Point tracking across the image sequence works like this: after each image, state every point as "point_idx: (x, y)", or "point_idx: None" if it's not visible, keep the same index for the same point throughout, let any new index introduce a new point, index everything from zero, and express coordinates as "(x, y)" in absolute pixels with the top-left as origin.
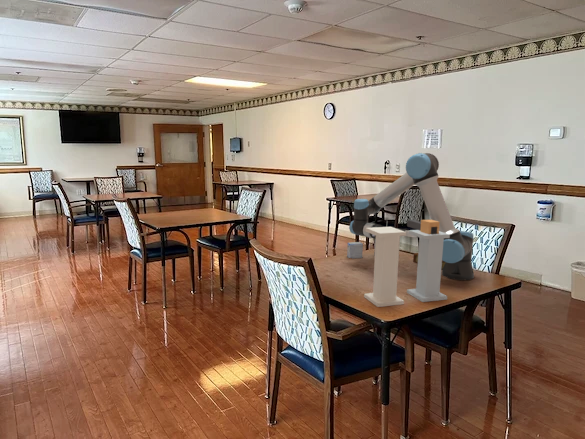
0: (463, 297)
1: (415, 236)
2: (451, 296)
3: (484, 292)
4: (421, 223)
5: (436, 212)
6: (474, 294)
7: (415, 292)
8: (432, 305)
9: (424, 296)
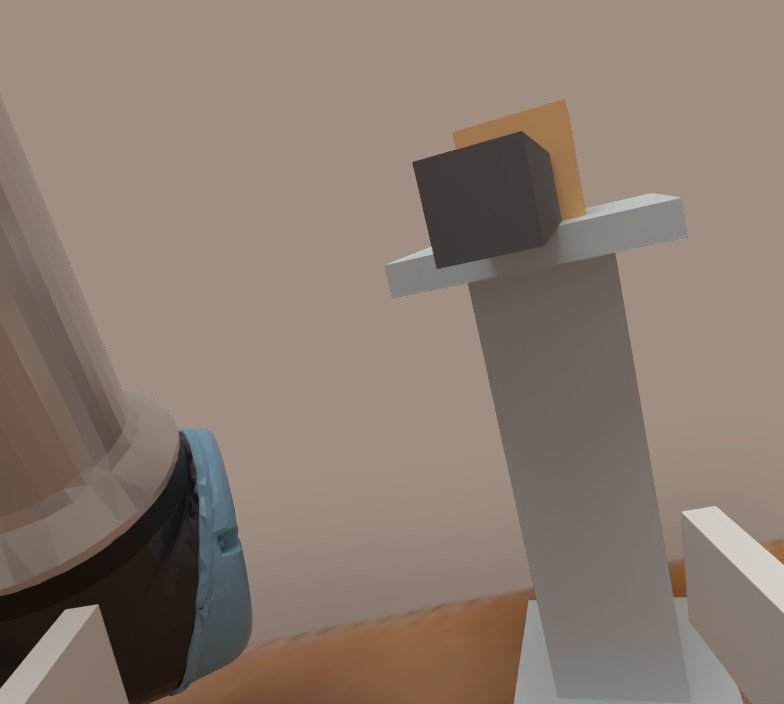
0: (420, 621)
1: (120, 684)
2: (468, 644)
3: (252, 647)
4: (570, 134)
5: (34, 178)
6: (326, 638)
7: (709, 683)
8: (677, 579)
9: (679, 618)
